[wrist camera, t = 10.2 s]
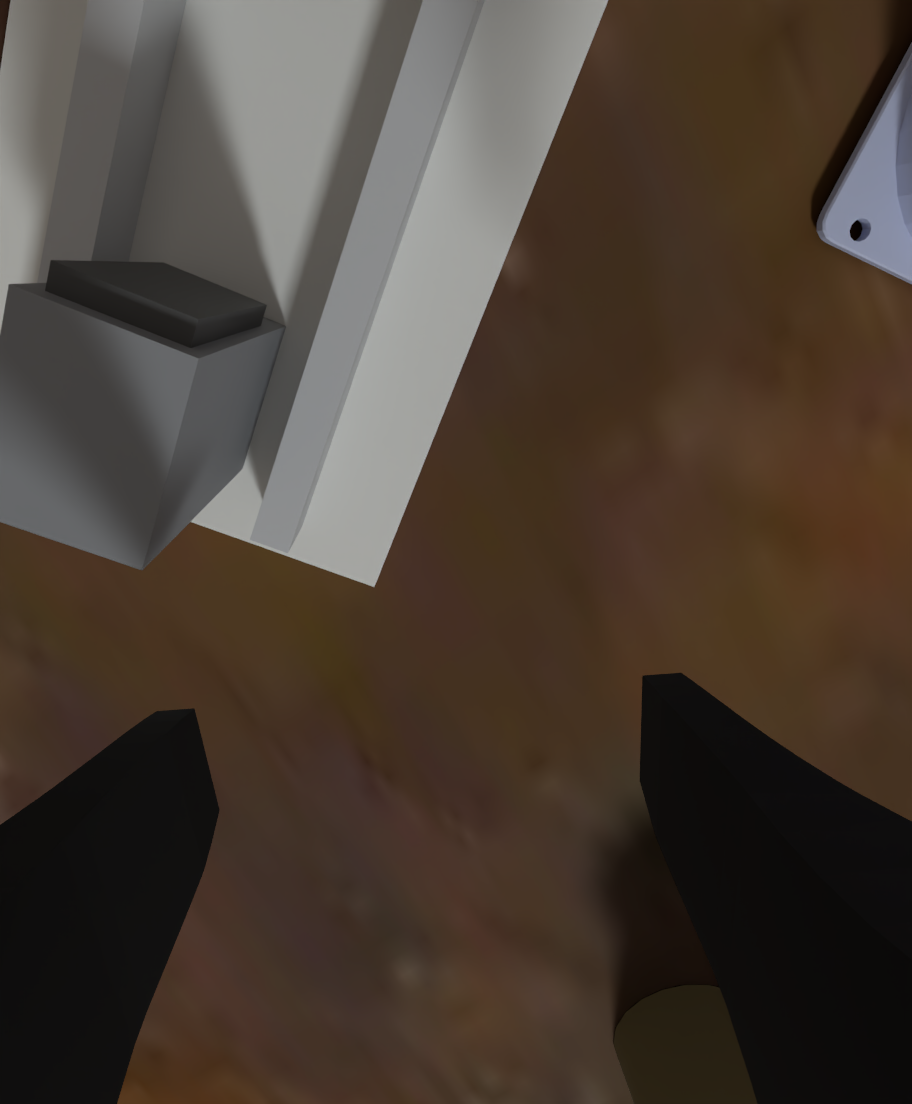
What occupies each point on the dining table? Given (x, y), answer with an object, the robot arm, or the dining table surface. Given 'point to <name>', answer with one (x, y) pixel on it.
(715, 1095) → the cork
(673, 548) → the dining table surface
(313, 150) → the rail
